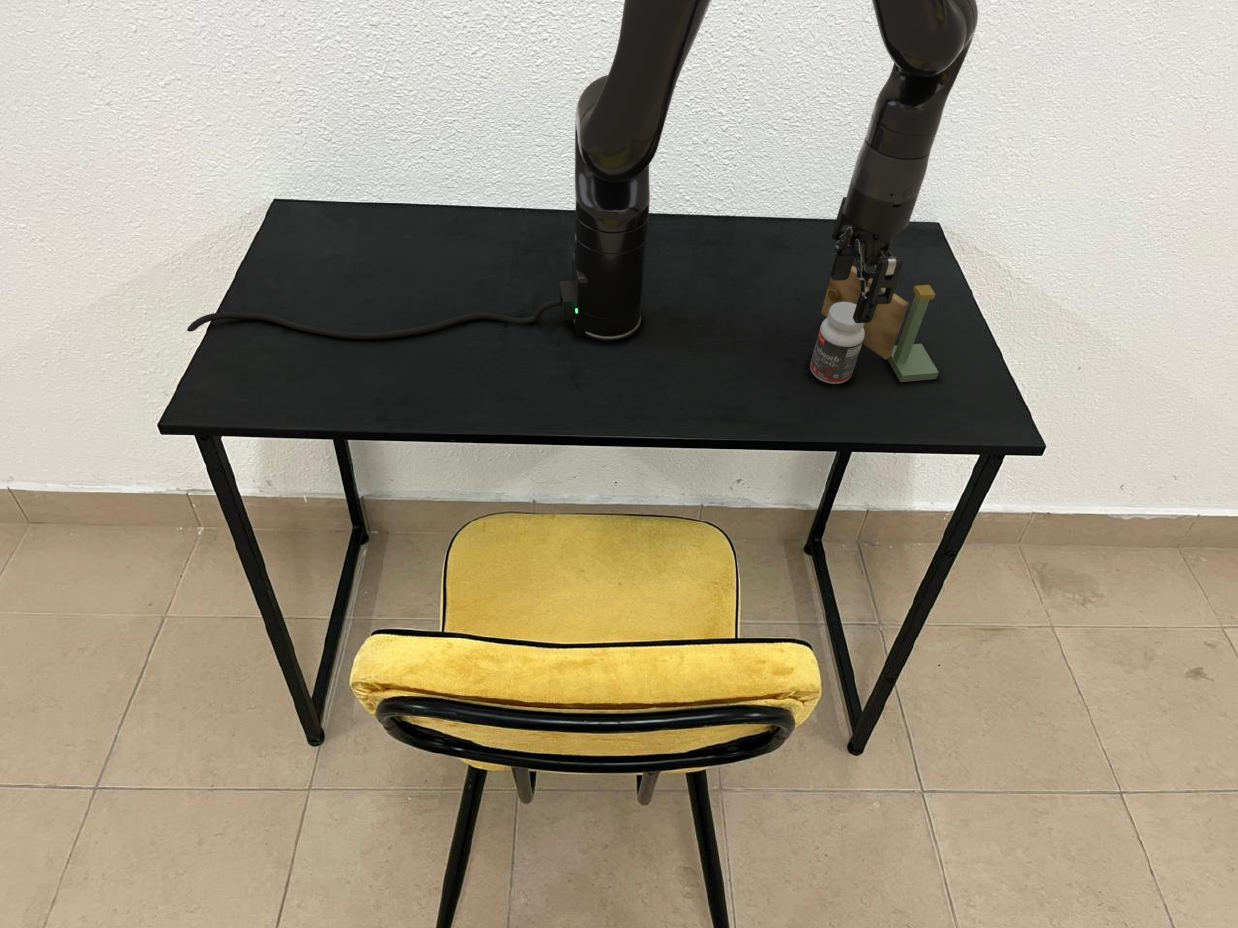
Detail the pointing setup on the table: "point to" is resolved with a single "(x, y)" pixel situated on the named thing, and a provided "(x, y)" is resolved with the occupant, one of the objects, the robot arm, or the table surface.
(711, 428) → the table surface
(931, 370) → the door frame
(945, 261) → the table surface
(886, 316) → the door
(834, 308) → the pill bottle
